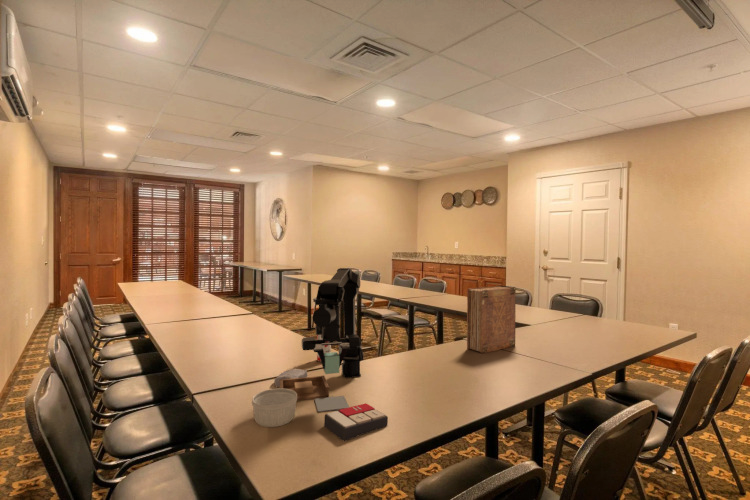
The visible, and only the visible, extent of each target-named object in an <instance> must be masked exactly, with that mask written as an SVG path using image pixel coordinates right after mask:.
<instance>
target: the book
mask: <svg viewBox="0 0 750 500" xmlns="http://www.w3.org/2000/svg"><path fill="white" fill-rule="evenodd" d="M516 288H517V287H516V286H507V285H495V286H484V287H483V286H482V287H474V288H467V290H466V292H467V293H466V295H467V298H466V301H467V303H466V304H467V305H466V350H472V351H476V352H479V353H480V354H486V353H491V352H495V351H500V350H503V349H508V348H512V347H515V346H516V295H517V294H516Z"/></svg>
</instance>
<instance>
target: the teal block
mask: <svg viewBox="0 0 750 500" xmlns="http://www.w3.org/2000/svg"><path fill="white" fill-rule="evenodd" d="M338 354H339V352H338V351H336V352H335V351H333V352H332V351H331V353H324V361H325V369H323V372H324V374H325V375H330V374H340V368H339V355H338Z"/></svg>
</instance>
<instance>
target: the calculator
mask: <svg viewBox="0 0 750 500" xmlns="http://www.w3.org/2000/svg"><path fill="white" fill-rule="evenodd" d="M323 421H324V424H323V425H324V426H323V427H324V428H326V429H327V431H329V432H331V433H332V434H333V435H335V436H336V437H337V438H338V439H340V440H341V441H342V442H347V441H350V440H351V439H354V438H357V437H359V436H362V435H364V434H369V433H372V432H374V431H377V430H379V429H382V428H385V427H388V416H387V415H386V414H385V413H383V412H382V411H380V410H379V409H376V408H375V407H373V406H372V405H370V404H368V403H366V402H365V403H361V404H357V405H353V406H349V408H345V409H340V410H335V411H330V412H326V413H325V414H324V420H323Z"/></svg>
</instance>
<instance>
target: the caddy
mask: <svg viewBox="0 0 750 500" xmlns="http://www.w3.org/2000/svg"><path fill="white" fill-rule="evenodd" d="M279 388H284V389H290V390H293V391H295V392H296V393H297V401H296V402H298V401H306V400H307V401H308V400H315V399H317V398H327V397H330V386H329V384H328V381H327V380H326V377H325V375H316V376H315V375H314V376H307V377H303V378H292V379H281V380H280V387H279Z"/></svg>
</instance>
